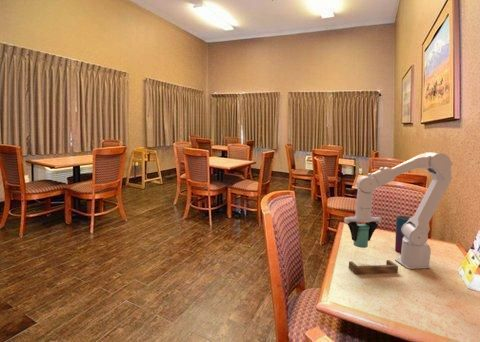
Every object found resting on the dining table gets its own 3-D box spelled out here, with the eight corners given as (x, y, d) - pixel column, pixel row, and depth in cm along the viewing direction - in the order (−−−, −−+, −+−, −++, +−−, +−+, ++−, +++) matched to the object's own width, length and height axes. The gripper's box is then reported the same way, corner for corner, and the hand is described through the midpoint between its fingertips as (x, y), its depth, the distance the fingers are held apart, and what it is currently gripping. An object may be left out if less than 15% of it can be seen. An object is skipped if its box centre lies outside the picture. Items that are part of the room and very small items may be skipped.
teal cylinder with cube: (360, 240, 123) (361, 221, 122) (371, 247, 115) (372, 227, 114) (347, 240, 122) (348, 221, 121) (357, 248, 114) (359, 228, 113)
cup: (413, 255, 123) (417, 220, 121) (395, 253, 125) (399, 219, 123) (407, 248, 130) (411, 216, 128) (390, 247, 131) (394, 214, 129)
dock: (388, 266, 113) (389, 260, 112) (397, 272, 108) (398, 266, 107) (348, 267, 110) (349, 261, 110) (355, 274, 106) (356, 267, 105)
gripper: (375, 204, 120) (372, 236, 122) (341, 204, 118) (338, 236, 120) (385, 208, 113) (382, 242, 115) (350, 209, 111) (347, 243, 113)
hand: (360, 240), depth 117 cm, fingers closed on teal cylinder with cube, 5 cm apart
